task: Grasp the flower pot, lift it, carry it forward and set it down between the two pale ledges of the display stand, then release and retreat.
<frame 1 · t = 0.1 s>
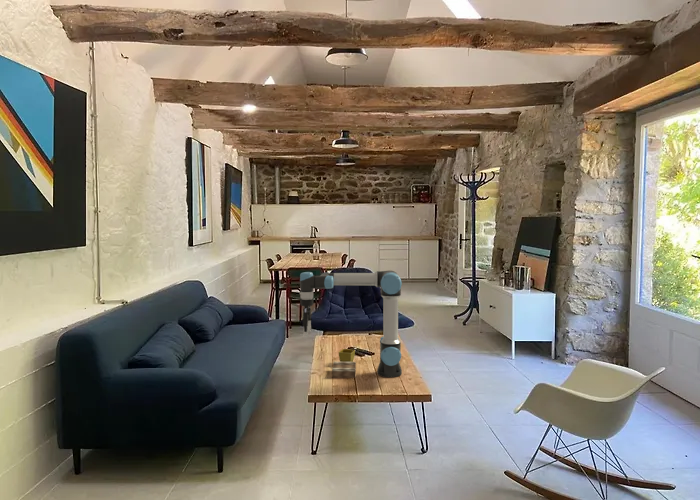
hand: (307, 334, 288), 28 cm above the table, fingers open, 13 cm apart
display stand: (344, 373, 302), on the table
flower pot: (346, 364, 321), on the table
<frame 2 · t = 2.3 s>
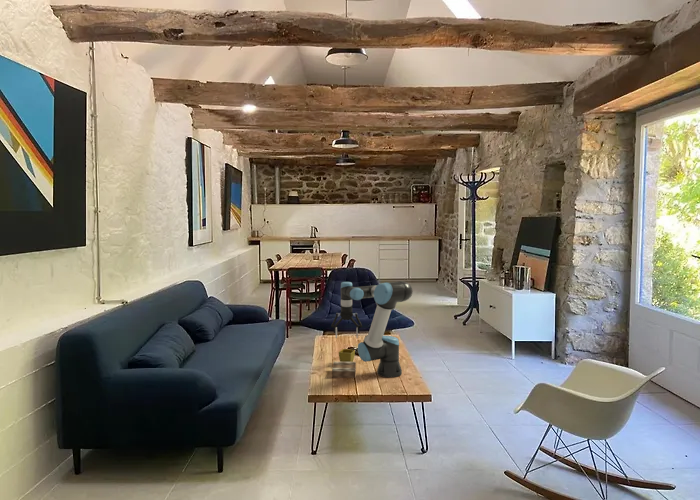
hand: (346, 337, 319), 18 cm above the table, fingers open, 13 cm apart
nothing on the table moved.
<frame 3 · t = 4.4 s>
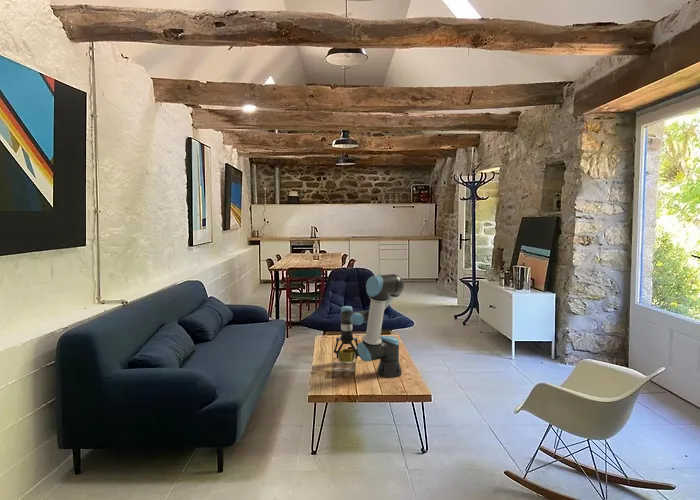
hand: (347, 363, 320), 1 cm above the table, fingers closed on flower pot, 10 cm apart
flower pot: (346, 364, 321), on the table, touching gripper
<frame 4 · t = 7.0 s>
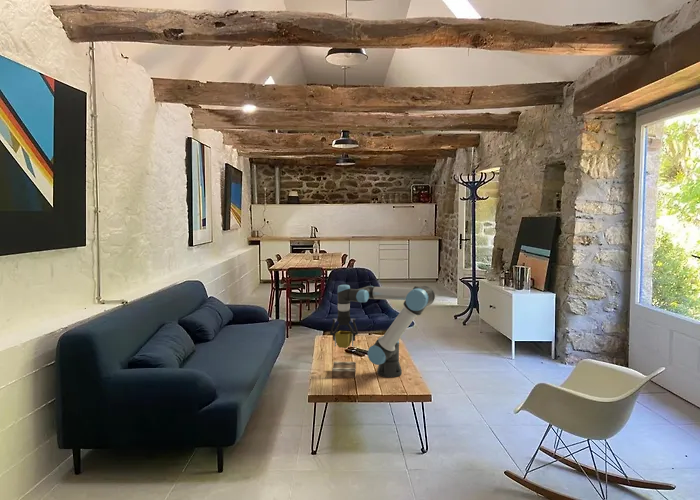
hand: (344, 345, 301), 18 cm above the table, fingers closed on flower pot, 10 cm apart
flower pot: (344, 347, 301), point 17 cm above the table, touching gripper
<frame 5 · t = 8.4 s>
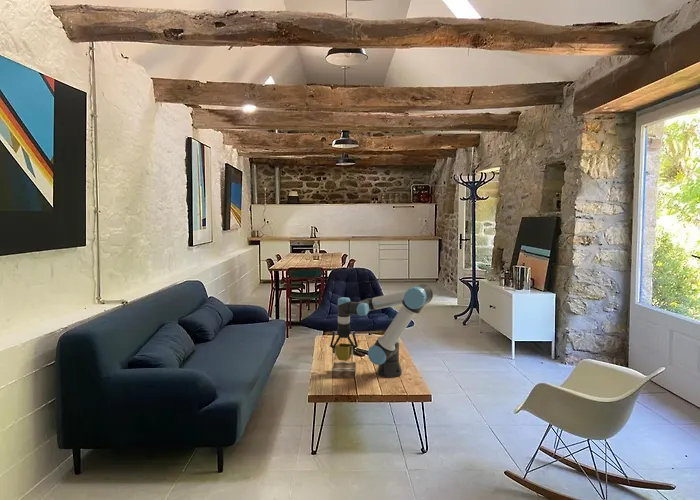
hand: (343, 358, 301), 10 cm above the table, fingers closed on flower pot, 10 cm apart
flower pot: (343, 359, 301), point 9 cm above the table, touching gripper
when the fingers open (6 cm above the table, at t = 9.6 s): flower pot drops 1 cm, resting on display stand.
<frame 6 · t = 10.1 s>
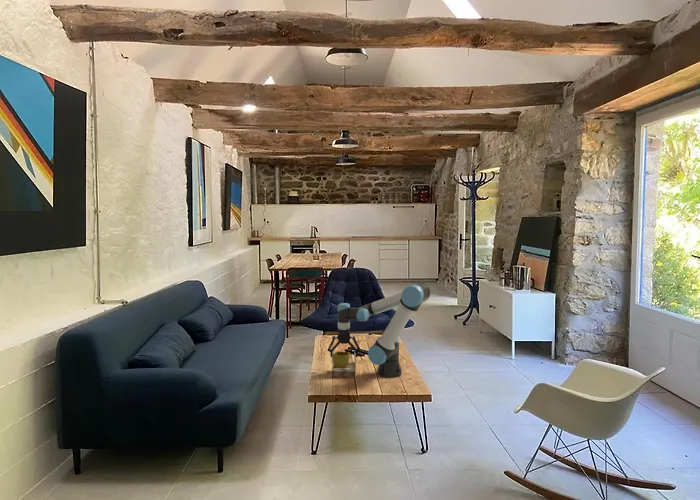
hand: (344, 362, 301), 7 cm above the table, fingers open, 13 cm apart
flower pot: (341, 368, 301), point 4 cm above the table, touching display stand, gripper
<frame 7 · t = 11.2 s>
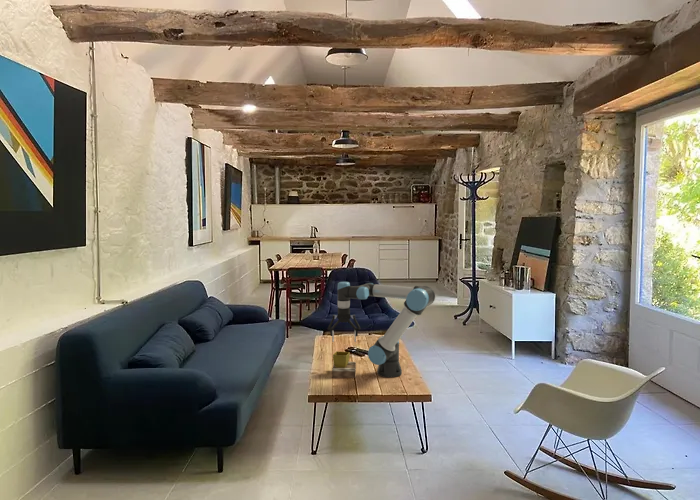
hand: (344, 341, 300), 20 cm above the table, fingers open, 13 cm apart
flower pot: (341, 368, 301), point 4 cm above the table, touching display stand
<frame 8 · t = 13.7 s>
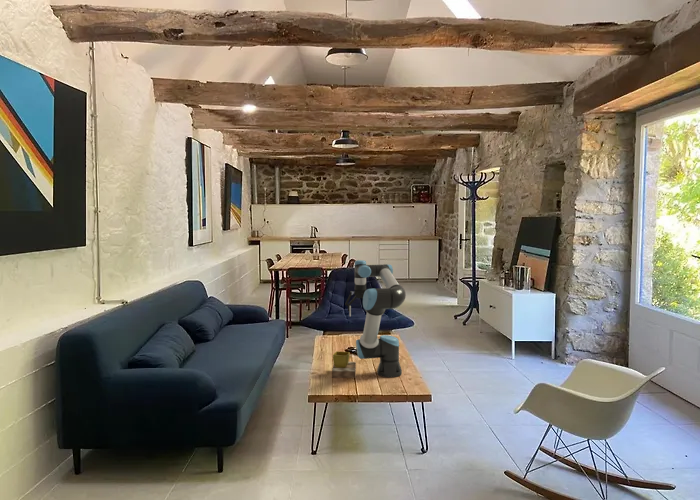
hand: (360, 316, 320), 32 cm above the table, fingers open, 13 cm apart
nothing on the table moved.
at the end: flower pot inside the target area on the display stand (1.8 cm from its centre), point 3.8 cm above the display stand's base; flower pot tilted 0°; the gripper is holding nothing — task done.
